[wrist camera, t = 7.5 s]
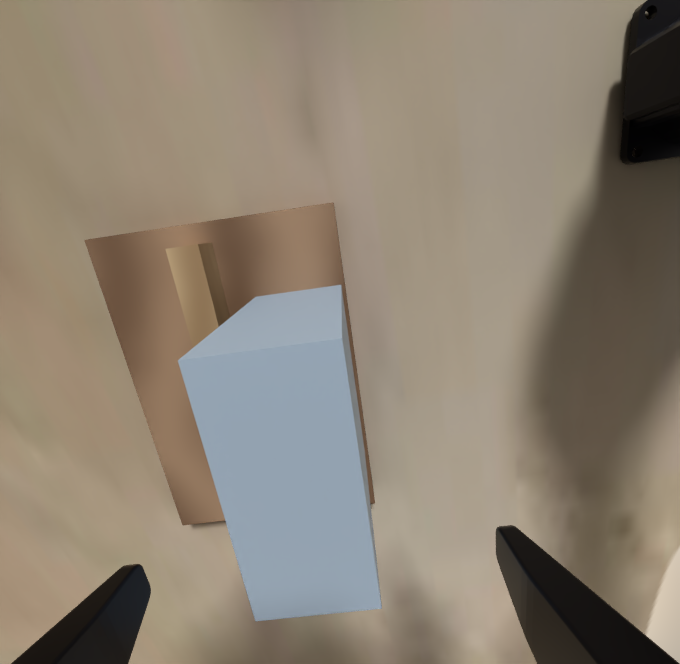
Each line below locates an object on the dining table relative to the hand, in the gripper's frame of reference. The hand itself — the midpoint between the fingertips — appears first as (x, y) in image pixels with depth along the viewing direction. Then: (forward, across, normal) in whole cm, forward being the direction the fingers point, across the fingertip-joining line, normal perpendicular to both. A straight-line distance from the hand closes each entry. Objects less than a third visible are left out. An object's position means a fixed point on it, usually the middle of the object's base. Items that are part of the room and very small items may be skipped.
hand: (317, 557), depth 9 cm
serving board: (+12, +5, 0) cm, 13 cm away
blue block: (+11, +1, 0) cm, 11 cm away
